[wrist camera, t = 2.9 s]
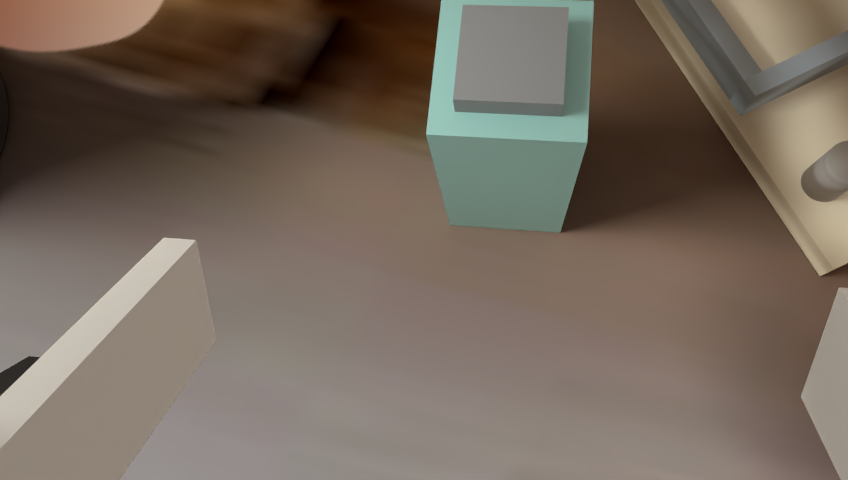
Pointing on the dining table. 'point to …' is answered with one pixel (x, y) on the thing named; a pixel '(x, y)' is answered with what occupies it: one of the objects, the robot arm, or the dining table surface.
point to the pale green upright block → (510, 110)
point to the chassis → (775, 101)
